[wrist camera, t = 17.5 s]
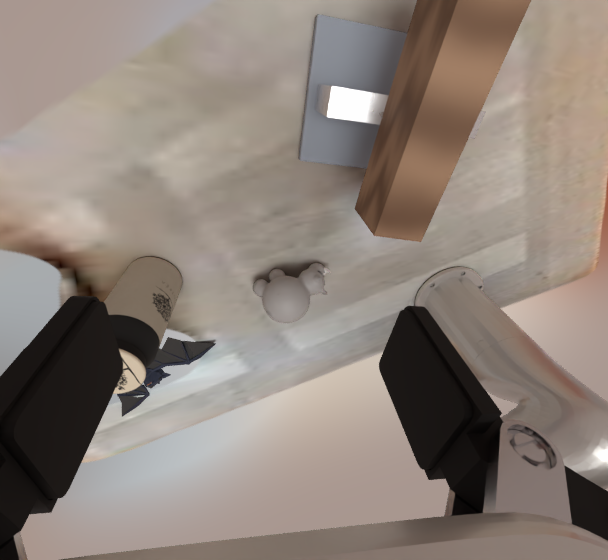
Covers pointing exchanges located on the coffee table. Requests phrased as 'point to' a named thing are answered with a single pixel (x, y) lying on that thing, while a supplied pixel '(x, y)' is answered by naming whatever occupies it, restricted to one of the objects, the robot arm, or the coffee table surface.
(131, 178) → the coffee table surface
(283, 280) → the round bodied animal figurine
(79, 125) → the coffee table surface
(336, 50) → the fulcrum base
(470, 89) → the walnut batten
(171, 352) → the decorative bat
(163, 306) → the travel mug
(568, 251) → the coffee table surface
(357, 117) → the steel ridge
